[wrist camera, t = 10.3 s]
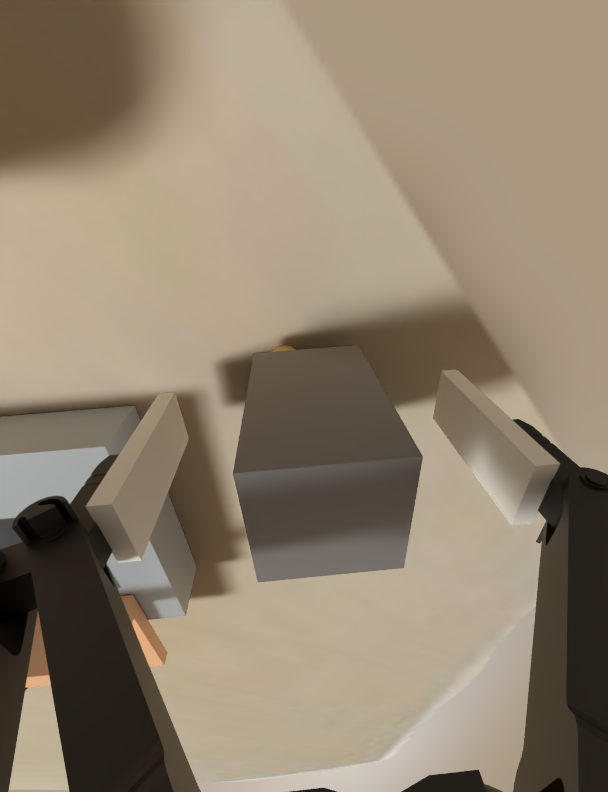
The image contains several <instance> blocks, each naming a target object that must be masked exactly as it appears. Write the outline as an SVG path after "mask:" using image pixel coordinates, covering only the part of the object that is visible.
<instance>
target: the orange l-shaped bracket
mask: <svg viewBox="0 0 608 792" xmlns="http://www.w3.org/2000/svg"><path fill="white" fill-rule="evenodd" d="M121 598H122V601H123V603H124V606H125V608H126V610H127V613H128V615H129V618H130V620H131V623H132V625H133V628H134V630H135V633H136V635H137V638H138V640H139V642H140V645H141V647H142V650H143V652H144V655H145V657H146V660H147V662H148V665H149V667H153V666H162V665H164V664H165V660H166V656H167V651H166V649H165V648H164V646H163V644H162V643H161V641H160V639H159V638H158V636H157V634H156V633H155V631H154V629H153V628H152V626H151V624H150V623H149V621H148V619H147V618H146V616H145V614H144V613H143V611H142V609H141V608H140V606H139V604H138V603H137V601H136V599H135V598H134V596H133V595H128V596H121ZM46 685H51V682H50V676H49V671H48V665H47V659H46V654H45V648H44V642H43V636H42V631H41V625H40V619H39V614H38V613H37V619H36V626H35V632H34V638H33V644H32V650H31V656H30V662H29V668H28V674H27V680H26V686H25V688H27V687H37V686H46Z"/></svg>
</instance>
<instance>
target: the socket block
mask: <svg viewBox="0 0 608 792" xmlns="http://www.w3.org/2000/svg"><path fill="white" fill-rule="evenodd" d="M140 422H141V421H140V418H139V415H138V413H137V410H136V408H135V406H123V407H111V408H99V409H87V410H74V411H62V412H50V413H38V414H26V415H14V416H2V417H0V549H3V548H6V547H9V546H12V545H15V544H18V543H21V542H23V541H22V540H21V539H20V537H19V536H18V535H17V533H16V532H15V531H14V530H13V528H12V525H13V521H14V520H15V518H16V517H17V516H18V514H19V513H20V512H21V511H23V510H24V509H25V508H26V507H27V506H29V505H31V504H33V503H34V502H36V501H38V500H41V499H43V498H46V497H50V496H62V497H64V498H65V499H66V500H67V501H68V502H69V504H70V503H71V502H72V501H73V499H74V498H75V496H76V495H77V493H78V492H79V491H80V489H81V488H82V486H84V485H85V482H86V481H87V479H88V478H89V477H91V474H92V472H93V471H94V469H95V468H96V467H97V465H98V464H99V463H101V462H102V461H103V460H104V459H105V458H107V457H108V456H109V455H118V454H120V452H121V451H122V449H123V448H124V446H125V445H126V443H127V442H128V440H129V439H130V437H131V435H132V434H133V432H134V431H135V429H136V428H137V426H138V425H139V423H140ZM107 566H108V567H109V569H110V571H111V574H112V576H113V578H114V581H115V583H116V586H117V588H118V591H119V593H120V596H128V595H133V596H134V598H135V599H136V601H137V603H138V604H139V606H140V608H141V609H142V611H143V613H144V614H145V616H146V618H147V619H148V620H150V619H160V618H170V617H180V616H186V612H187V608H188V603H189V599H190V595H191V590H192V586H193V581H194V577H195V573H196V568H197V566H196V564H195V561H194V559H193V556H192V553H191V551H190V548H189V546H188V543H187V540H186V538H185V535H184V533H183V530H182V527H181V525H180V522H179V519H178V517H177V514H176V512H175V509H174V506H173V504H172V501H171V499H170V496H169V493H168V494H167V496H166V499H165V501H164V504H163V506H162V509H161V512H160V514H159V517H158V519H157V522H156V524H155V527H154V529H153V532H152V534H151V537H150V540H149V542H148V545H147V547H146V550H145V552H144V555H143V557H142V560H141V561H132V562H122V563H118V562H117V560H116V558H115V556H114V555H113V553H111V555H110V557H109V559H108V562H107Z"/></svg>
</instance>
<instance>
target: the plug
mask: <svg viewBox="0 0 608 792" xmlns="http://www.w3.org/2000/svg"><path fill="white" fill-rule="evenodd" d="M422 458H423V456H422V454H421V453H420V451H419V449H418V447H417V446H416V444H415V442H414V441H413V439H412V437H411V435H410V434H409V432H408V430H407V428H406V427H405V425H404V423H403V421H402V420H401V418H400V416H399V414H398V413H397V411H396V409H395V407H394V406H393V404H392V402H391V400H390V399H389V397H388V395H387V393H386V392H385V390H384V388H383V386H382V385H381V383H380V381H379V380H378V378H377V376H376V374H375V373H374V371H373V369H372V367H371V366H370V364H369V362H368V360H367V359H366V357H365V355H364V353H363V352H362V350H361V348H360V346H359V345H351V346H338V347H325V348H312V349H300V350H296V349H294V348H293V347H291V346H287V345H283V346H279V347H277V348H275V349H274V350H273V351H272V352H262V353H254V355H253V361H252V367H251V373H250V378H249V384H248V390H247V396H246V401H245V407H244V413H243V419H242V425H241V430H240V436H239V442H238V448H237V453H236V459H235V465H234V471H233V476H234V480H235V484H236V489H237V493H238V497H239V502H240V506H241V511H242V515H243V519H244V524H245V528H246V532H247V537H248V541H249V545H250V550H251V554H252V558H253V563H254V567H255V572H256V576H257V580H258V582H265V581H276V580H286V579H296V578H306V577H316V576H326V575H336V574H346V573H357V572H367V571H377V570H387V569H397V568H404V563H405V557H406V552H407V546H408V540H409V534H410V528H411V522H412V517H413V511H414V505H415V499H416V493H417V487H418V481H419V476H420V470H421V464H422Z"/></svg>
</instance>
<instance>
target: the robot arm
mask: <svg viewBox="0 0 608 792" xmlns="http://www.w3.org/2000/svg"><path fill="white" fill-rule="evenodd" d="M433 419H434V420H435V421H436V423H437V424H438V425H439V427H440V428H441V430H442V431H443V432H444V434H445V435H446V436H447V438H448V439H449V441H450V442H451V443H452V445H453V446H454V447H455V449H456V450H457V452H458V453H459V454H460V456H461V457H462V458H463V460H464V461H465V463H466V464H467V465H468V467H469V468H470V469H471V471H472V472H473V474H474V475H475V476H476V478H477V479H478V480H479V482H480V483H481V484H482V486H483V487H484V489H485V490H486V491H487V493H488V494H489V495H490V497H491V498H492V500H493V501H494V502H495V504H496V505H497V506H498V508H499V509H500V511H501V512H502V513H503V515H504V516H505V517H506V519H507V520H508V522H509V523H510V524H511V525H521V524H532V523H533V522H534V520H535V518H536V516H537V513H538V511H539V512H540V513H541V514H542V516H543V517H544V518H545V519H546V520H547V521H546V523H545V525H544V527H543V529H542V531H541V533H540V535H539V537H538V539H537V541H536V542H537V543H540V542H541V541H542V545H541V557H540V568H539V579H538V591H537V602H536V613H535V626H534V636H533V648H532V659H531V670H530V671H531V672H530V682H529V693H528V704H527V716H526V727H525V738H524V748H523V752H522V757H521V760H520V763H519V766H518V769H517V773H516V778H515V783H514V790H513V792H608V475H607V474H605V473H603V472H600V471H598V470H594V469H590V468H584V467H583V468H580V467H579V466H578V465H577V464H576V463H574V462H573V461H572V460H571V459H570V458H569V457H567V456H566V455H565V454H564V453H563V452H562V451H561V450H559V449H558V448H557V447H556V446H555V445H554V444H552V443H550V441H549V440H548V439H547V438H545V437H544V436H542V434H541V433H540V432H539V431H537V430H536V429H535V428H534V427H533V426H531V425H529V424H527V423H525V422H523V421H521V420H519V419H515V420H512V419H511V418H510V417H509V416H507V415H506V414H505V413H504V412H503V411H502V410H501V409H500V408H499V407H498V406H497V405H495V404H494V403H493V402H492V401H491V400H490V399H489V398H488V397H487V396H486V395H484V394H483V393H482V392H481V391H480V390H479V389H478V388H477V387H476V386H475V385H474V384H472V383H471V382H470V381H469V380H468V379H467V378H466V377H465V376H464V375H463V374H461V373H460V372H459V371H458V370H444V371H441V376H440V381H439V387H438V393H437V398H436V404H435V410H434V415H433ZM188 440H189V437H188V434H187V430H186V427H185V424H184V420H183V417H182V414H181V410H180V407H179V404H178V400H177V397H176V394H175V392H174V393H162V394H158V396H157V397H156V399H155V400H154V402H153V403H152V405H151V406H150V408H149V409H148V411H147V412H146V414H145V416H144V417H143V419H142V420H141V422H140V423H139V425H138V426H137V428H136V429H135V431H134V432H133V434H132V435H131V437H130V439H129V440H128V442H127V443H126V445H125V446H124V448H123V449H122V451H121V452H120V454H118V455H109V456H108V457H107V458H105V459H104V460H103V461H102V462H101V463H99V464H98V465H97V467H96V468H95V469H94V471H93V472H92V474H91V477H89V478H88V479H87V481H86V482H85V485H84V486H82V488H81V489H80V491H79V492H78V493H77V495H76V496H75V498H74V499H73V501H72V502H71V503H70V504H69V502H68V501H67V500H66V499H65V498H64V497H62V496H50V497H46V498H43V499H41V500H38V501H36V502H34V503H33V504H31V505H29V506H27V507H26V508H25V509H24V510H23V511H21V512H20V513H19V514H18V516H17V517H16V518H15V520H14V521H13V525H12V528H13V530H14V531H15V532H16V533H17V535H18V536H19V537H20V539H21V540H22V541H23V542H21V543H18V544H15V545H12V546H9V547H6V548H3V549H0V792H8V790H9V784H10V778H11V772H12V766H13V760H14V753H15V747H16V741H17V735H18V729H19V723H20V717H21V711H22V705H23V699H24V693H25V686H26V680H27V674H28V668H29V662H30V656H31V650H32V644H33V638H34V632H35V626H36V619H37V613H38V614H39V619H40V625H41V631H42V636H43V642H44V648H45V654H46V659H47V665H48V671H49V676H50V682H51V688H52V694H53V699H54V705H55V711H56V716H57V722H58V728H59V734H60V739H61V745H62V751H63V756H64V762H65V768H66V774H67V779H68V785H69V791H70V792H201V791H200V789H199V787H198V785H197V783H196V780H195V778H194V775H193V773H192V770H191V768H190V765H189V763H188V761H187V758H186V756H185V753H184V751H183V748H182V746H181V743H180V741H179V738H178V736H177V733H176V731H175V729H174V726H173V724H172V721H171V719H170V716H169V714H168V711H167V709H166V706H165V704H164V702H163V699H162V697H161V694H160V692H159V689H158V687H157V684H156V682H155V679H154V677H153V674H152V672H151V670H150V667H149V665H148V662H147V660H146V657H145V655H144V652H143V650H142V647H141V645H140V642H139V640H138V638H137V635H136V633H135V630H134V628H133V625H132V623H131V620H130V618H129V615H128V613H127V610H126V608H125V606H124V603H123V601H122V598H121V596H120V593H119V591H118V588H117V586H116V583H115V581H114V578H113V576H112V574H111V571H110V569H109V567H108V566H107V562H108V559H109V557H110V555H111V553H113V555H114V556H115V558H116V560H117V562H118V563H122V562H132V561H141V560H142V557H143V555H144V552H145V550H146V547H147V545H148V542H149V540H150V537H151V534H152V532H153V529H154V527H155V524H156V522H157V519H158V517H159V514H160V512H161V509H162V506H163V504H164V501H165V499H166V496H167V494H168V491H169V489H170V486H171V483H172V481H173V478H174V476H175V473H176V471H177V468H178V466H179V463H180V461H181V458H182V455H183V453H184V450H185V448H186V445H187V443H188ZM291 792H336V791H332V790H329V789H326V788H318V789H309V790H300V791H291ZM402 792H502V791H500V790H498V789H496V788H493V787H491V786H489V785H485V784H484V783H483V780H482V778H481V775H480V772H479V770H473V771H464V772H456V773H447V774H438V775H429V776H427V777H426V778H424V779H422V780H421V781H419V782H417V783H416V784H414V785H412V786H410V787H409V788H407V789H405V790H404V791H402Z"/></svg>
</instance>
